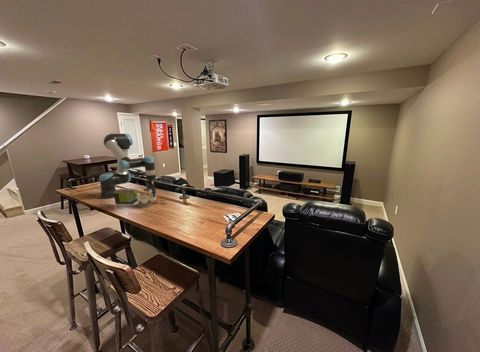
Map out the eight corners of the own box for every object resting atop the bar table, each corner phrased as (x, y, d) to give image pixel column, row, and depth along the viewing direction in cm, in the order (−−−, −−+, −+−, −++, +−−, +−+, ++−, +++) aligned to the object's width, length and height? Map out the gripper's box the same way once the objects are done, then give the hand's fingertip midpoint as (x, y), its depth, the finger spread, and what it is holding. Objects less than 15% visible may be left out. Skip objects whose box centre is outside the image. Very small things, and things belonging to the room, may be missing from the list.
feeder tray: (145, 201, 180) (144, 198, 180) (156, 199, 186) (156, 196, 185) (146, 204, 173) (146, 201, 172) (158, 202, 178) (158, 199, 178)
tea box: (139, 203, 174) (137, 188, 171) (131, 208, 164) (129, 191, 161) (123, 203, 175) (121, 187, 172) (115, 207, 166) (112, 191, 162)
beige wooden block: (155, 201, 174) (154, 191, 172) (156, 203, 171) (155, 192, 168) (150, 202, 172) (149, 192, 170) (151, 204, 168) (150, 193, 166)
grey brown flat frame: (139, 205, 169) (138, 202, 168) (157, 202, 177) (156, 199, 177) (140, 209, 162) (139, 205, 161) (159, 205, 170) (158, 202, 169)
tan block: (141, 204, 168) (139, 193, 166) (146, 203, 170) (145, 192, 168) (141, 206, 164) (140, 195, 162) (147, 205, 167) (146, 194, 164)
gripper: (143, 172, 174) (146, 195, 178) (148, 177, 153) (150, 203, 158) (152, 171, 178) (154, 193, 182) (158, 176, 157) (160, 201, 162)
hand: (153, 198), depth 170 cm, fingers open, 13 cm apart
